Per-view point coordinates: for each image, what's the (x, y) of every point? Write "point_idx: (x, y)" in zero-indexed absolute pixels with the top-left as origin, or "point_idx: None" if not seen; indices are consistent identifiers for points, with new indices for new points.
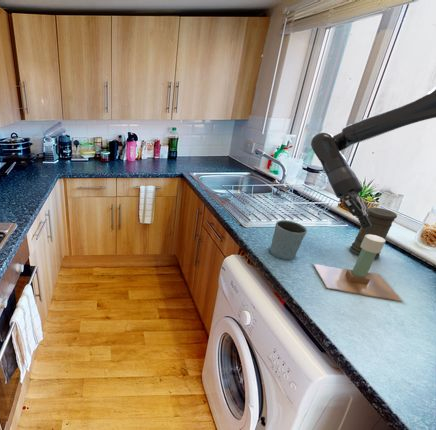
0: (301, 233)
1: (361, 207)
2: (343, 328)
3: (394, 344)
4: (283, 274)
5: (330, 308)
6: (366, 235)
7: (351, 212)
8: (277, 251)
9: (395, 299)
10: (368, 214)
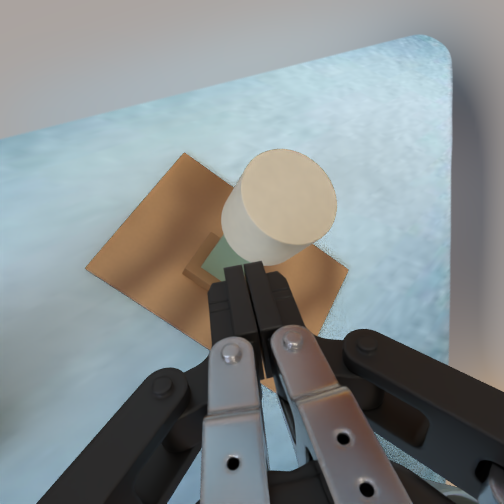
0: (453, 488)
1: (350, 399)
2: (410, 163)
3: (350, 101)
4: None
5: (393, 211)
6: (312, 234)
7: (407, 404)
8: None
9: (198, 163)
10: (171, 369)
